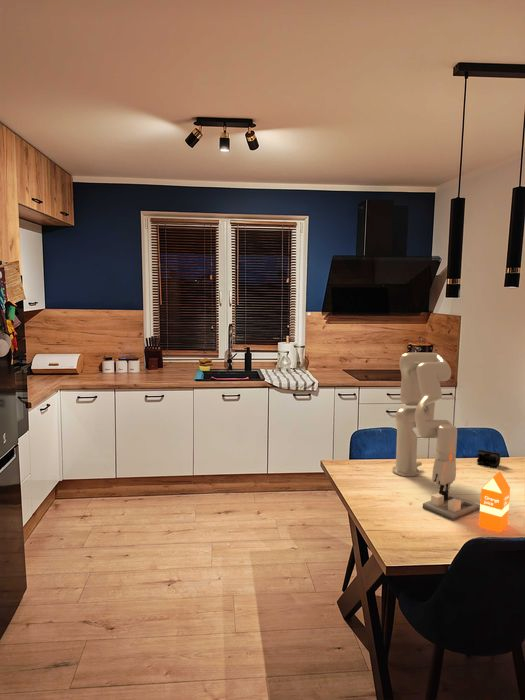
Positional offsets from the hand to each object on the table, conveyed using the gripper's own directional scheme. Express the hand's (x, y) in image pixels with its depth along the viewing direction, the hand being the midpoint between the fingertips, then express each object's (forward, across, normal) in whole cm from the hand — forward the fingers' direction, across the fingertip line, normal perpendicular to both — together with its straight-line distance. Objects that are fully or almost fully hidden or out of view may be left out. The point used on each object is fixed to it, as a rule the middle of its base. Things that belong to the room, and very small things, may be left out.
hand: (443, 499), depth 207 cm
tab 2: (+2, +3, +7) cm, 8 cm away
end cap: (+4, -64, -17) cm, 66 cm away
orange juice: (+3, 0, +21) cm, 22 cm away
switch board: (+3, 0, +4) cm, 5 cm away
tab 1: (+2, +4, 0) cm, 4 cm away
